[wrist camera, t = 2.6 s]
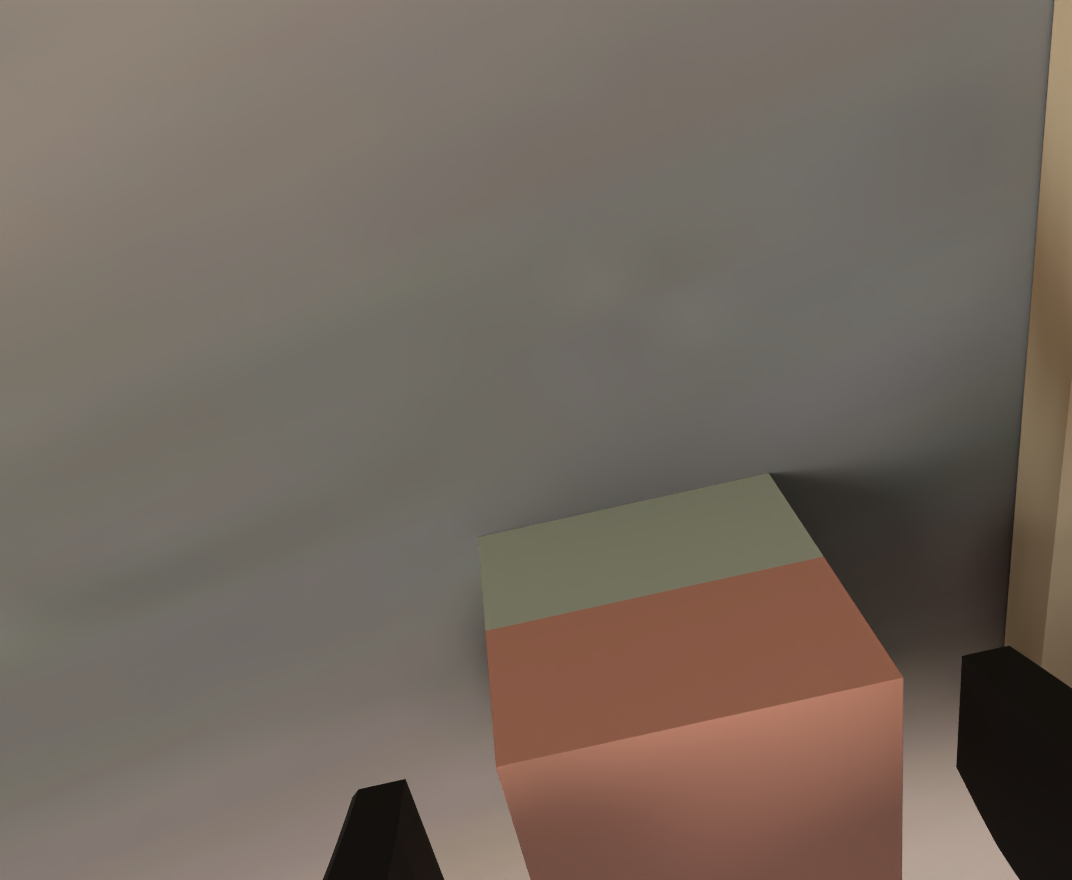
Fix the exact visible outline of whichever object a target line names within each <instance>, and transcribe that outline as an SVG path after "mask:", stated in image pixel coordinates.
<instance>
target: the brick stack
mask: <svg viewBox="0 0 1072 880" xmlns="http://www.w3.org/2000/svg"><path fill="white" fill-rule="evenodd" d="M478 546H479V559H480V571H481V584H482V597H483V609H484V622H485V634H486V647H487V659H488V672H489V684H490V697H491V710H492V722H493V735H494V747H495V760H496V768H497V772H498V775H499V778H500V781H501V785H502V788H503V791H504V794H505V798H506V801H507V804H508V807H509V811H510V814H511V817H512V820H513V824H514V827H515V830H516V833H517V837H518V840H519V843H520V846H521V850H522V853H523V856H524V859H525V863H526V866H527V869H528V872H529V876H530V879H531V880H902V792H903V676H902V675H901V673H900V672H899V670H898V669H897V667H896V666H895V664H894V663H893V661H892V660H891V658H890V657H889V655H888V654H887V652H886V651H885V649H884V648H883V646H882V644H881V643H880V641H879V640H878V638H877V637H876V635H875V634H874V632H873V631H872V629H871V628H870V626H869V625H868V623H867V622H866V620H865V619H864V617H863V616H862V614H861V613H860V611H859V610H858V608H857V607H856V605H855V603H854V602H853V600H852V599H851V597H850V596H849V594H848V593H847V591H846V590H845V588H844V587H843V585H842V584H841V582H840V581H839V579H838V578H837V576H836V575H835V573H834V572H833V570H832V569H831V567H830V566H829V564H828V562H827V561H826V559H825V558H824V556H823V555H822V553H821V552H820V550H819V549H818V547H817V546H816V544H815V543H814V541H813V540H812V538H811V537H810V535H809V534H808V532H807V531H806V529H805V528H804V526H803V525H802V523H801V521H800V520H799V518H798V517H797V515H796V514H795V512H794V511H793V509H792V508H791V506H790V505H789V503H788V502H787V500H786V499H785V497H784V496H783V494H782V493H781V491H780V490H779V488H778V487H777V485H776V483H775V482H774V480H773V479H772V477H771V476H770V474H769V473H767V474H763V475H758V476H753V477H749V478H744V479H740V480H735V481H731V482H726V483H722V484H717V485H713V486H708V487H704V488H699V489H694V490H690V491H685V492H681V493H676V494H672V495H667V496H663V497H658V498H654V499H649V500H645V501H640V502H635V503H631V504H626V505H622V506H617V507H613V508H608V509H604V510H599V511H595V512H590V513H586V514H581V515H576V516H572V517H567V518H563V519H558V520H554V521H549V522H545V523H540V524H536V525H531V526H527V527H522V528H517V529H513V530H508V531H504V532H499V533H495V534H490V535H486V536H481V537H478Z"/></svg>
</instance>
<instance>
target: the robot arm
mask: <svg viewBox="0 0 1072 880" xmlns="http://www.w3.org/2000/svg"><path fill="white" fill-rule="evenodd" d="M956 767H957V769H958V771H959V773H960V775H961V777H962V779H963V781H964V783H965V785H966V787H967V789H968V791H969V793H970V795H971V797H972V799H973V801H974V803H975V805H976V807H977V809H978V811H979V813H980V814H981V816H982V818H983V820H984V822H985V824H986V826H987V827H988V829H989V831H990V833H991V835H992V837H993V839H994V841H995V842H996V844H997V846H998V848H999V849H1000V851H1001V852H1002V854H1003V855H1004V857H1005V858H1006V860H1007V861H1008V863H1009V864H1010V866H1011V867H1012V869H1013V870H1014V872H1015V873H1016V875H1017V876H1018V878H1019V879H1020V880H1072V688H1071V687H1069V686H1068V685H1067V684H1065V683H1064V682H1062V681H1061V680H1059V679H1058V678H1056V677H1055V676H1054V675H1052V674H1051V673H1049V672H1048V671H1046V670H1045V669H1043V668H1042V667H1040V666H1039V665H1037V664H1036V663H1035V662H1033V661H1032V660H1030V659H1029V658H1027V657H1026V656H1024V655H1023V654H1021V653H1020V652H1018V651H1017V650H1015V649H1014V648H1012V647H1011V646H1005V647H1001V648H996V649H992V650H987V651H983V652H978V653H974V654H969V655H965V656H962V670H961V689H960V709H959V728H958V747H957V766H956ZM323 880H444V878H443V875H442V873H441V870H440V868H439V865H438V862H437V860H436V857H435V855H434V852H433V849H432V847H431V844H430V842H429V839H428V836H427V834H426V831H425V829H424V826H423V823H422V821H421V818H420V816H419V813H418V810H417V808H416V805H415V803H414V800H413V797H412V795H411V792H410V790H409V787H408V784H407V782H406V779H404V780H399V781H395V782H390V783H385V784H381V785H376V786H372V787H367V788H363V789H359V790H358V791H357V792H356V794H355V795H354V796H353V797H352V800H351V803H350V806H349V809H348V812H347V815H346V818H345V821H344V824H343V827H342V830H341V832H340V835H339V838H338V841H337V844H336V846H335V849H334V852H333V854H332V857H331V860H330V862H329V865H328V868H327V870H326V873H325V875H324V878H323Z"/></svg>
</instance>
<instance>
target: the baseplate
mask: <svg viewBox="0 0 1072 880" xmlns="http://www.w3.org/2000/svg"><path fill="white" fill-rule="evenodd" d="M1005 646H1011V647H1012V648H1014V649H1015V650H1017V651H1018V652H1020V653H1021V654H1023V655H1024V656H1026V657H1027V658H1029V659H1030V660H1032V661H1033V662H1035V663H1036V664H1037V665H1039V666H1040V667H1042V668H1043V669H1045V670H1046V671H1048V672H1049V673H1051V674H1052V675H1054V676H1055V677H1056V678H1058V679H1059V680H1061V681H1062V682H1064V683H1065V684H1067V685H1068V686H1069V687H1071V688H1072V0H1055V1H1054V14H1053V27H1052V40H1051V52H1050V65H1049V78H1048V91H1047V104H1046V117H1045V130H1044V142H1043V155H1042V168H1041V181H1040V194H1039V207H1038V219H1037V232H1036V245H1035V258H1034V271H1033V284H1032V296H1031V309H1030V322H1029V335H1028V348H1027V361H1026V373H1025V386H1024V399H1023V412H1022V425H1021V438H1020V450H1019V463H1018V476H1017V489H1016V502H1015V515H1014V527H1013V540H1012V553H1011V566H1010V579H1009V592H1008V605H1007V617H1006V630H1005V643H1004V647H1005Z"/></svg>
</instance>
